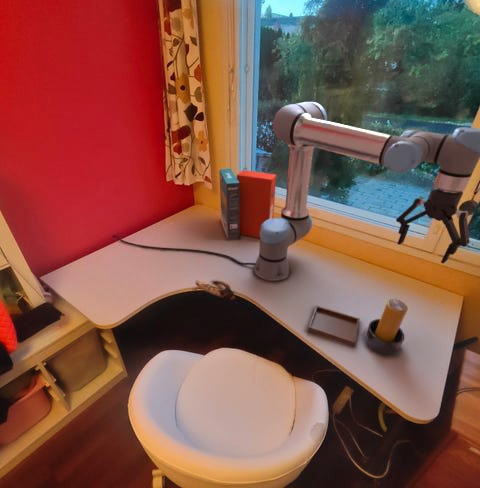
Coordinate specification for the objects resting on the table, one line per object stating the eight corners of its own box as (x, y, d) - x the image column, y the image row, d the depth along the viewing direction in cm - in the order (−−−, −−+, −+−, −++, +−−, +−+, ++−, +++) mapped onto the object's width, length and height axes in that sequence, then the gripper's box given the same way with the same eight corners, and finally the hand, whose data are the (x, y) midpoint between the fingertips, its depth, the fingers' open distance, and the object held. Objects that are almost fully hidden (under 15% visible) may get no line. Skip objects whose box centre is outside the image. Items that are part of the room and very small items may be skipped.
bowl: (363, 348, 91) (367, 337, 88) (366, 326, 99) (370, 315, 96) (398, 361, 88) (404, 349, 85) (399, 336, 96) (404, 325, 93)
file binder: (267, 239, 148) (271, 179, 130) (236, 233, 153) (236, 174, 135) (272, 232, 154) (276, 174, 136) (242, 226, 159) (243, 169, 141)
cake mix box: (239, 238, 149) (239, 182, 132) (227, 239, 148) (226, 183, 131) (231, 220, 166) (230, 168, 150) (221, 220, 165) (219, 169, 149)
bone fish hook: (242, 292, 114) (205, 278, 121) (242, 283, 112) (204, 269, 119) (230, 306, 107) (191, 290, 114) (230, 296, 105) (191, 280, 112)
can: (372, 344, 92) (386, 307, 83) (373, 332, 96) (387, 296, 87) (391, 350, 90) (408, 314, 81) (391, 338, 94) (408, 301, 85)
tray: (307, 331, 97) (308, 327, 96) (315, 309, 106) (316, 305, 105) (354, 347, 92) (355, 342, 91) (358, 322, 101) (359, 318, 99)
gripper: (506, 199, 74) (469, 265, 85) (410, 174, 90) (390, 233, 102) (497, 206, 70) (459, 275, 82) (398, 179, 86) (378, 239, 98)
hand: (421, 251), depth 92 cm, fingers open, 13 cm apart
